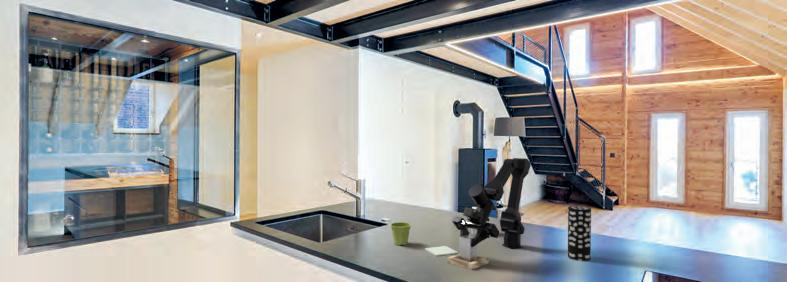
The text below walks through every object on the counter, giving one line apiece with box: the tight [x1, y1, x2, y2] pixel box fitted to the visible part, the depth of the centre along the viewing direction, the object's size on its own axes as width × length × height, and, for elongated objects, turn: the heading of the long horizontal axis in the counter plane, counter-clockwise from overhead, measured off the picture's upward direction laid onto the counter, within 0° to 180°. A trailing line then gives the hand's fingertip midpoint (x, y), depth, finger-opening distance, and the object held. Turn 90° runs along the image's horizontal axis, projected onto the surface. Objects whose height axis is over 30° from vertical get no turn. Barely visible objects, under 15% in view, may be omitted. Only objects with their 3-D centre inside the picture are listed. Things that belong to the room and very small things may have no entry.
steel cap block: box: [458, 234, 478, 262], centre depth 152 cm, size 4×5×10 cm
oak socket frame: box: [447, 253, 489, 271], centre depth 152 cm, size 11×11×2 cm
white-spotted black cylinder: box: [567, 205, 592, 262], centre depth 159 cm, size 8×8×20 cm
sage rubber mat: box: [424, 245, 459, 257], centre depth 167 cm, size 10×10×1 cm
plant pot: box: [389, 221, 412, 246], centre depth 178 cm, size 9×9×9 cm
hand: (465, 245), depth 151 cm, fingers closed on steel cap block, 5 cm apart
